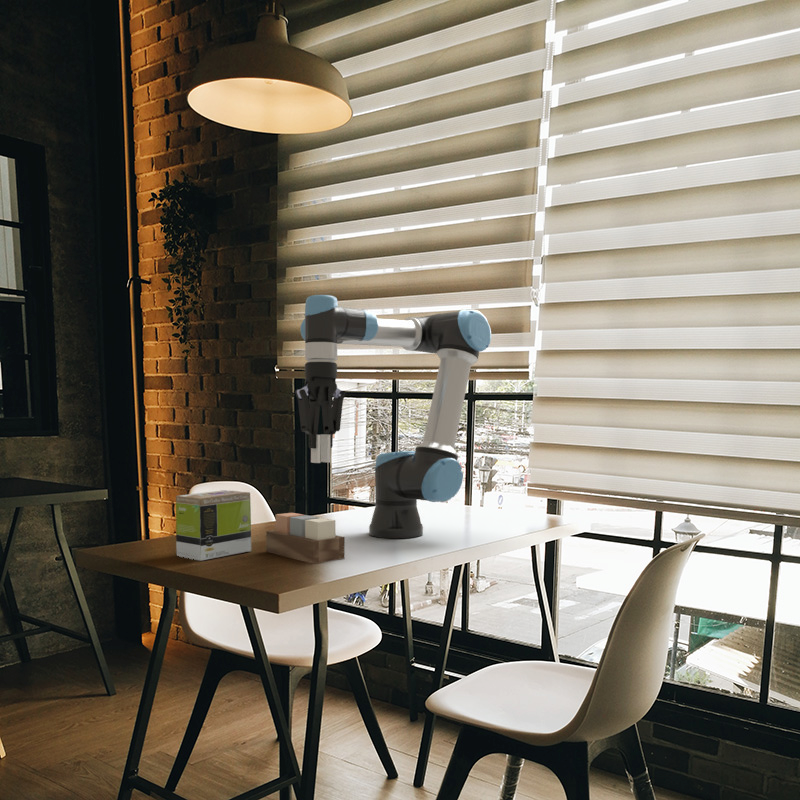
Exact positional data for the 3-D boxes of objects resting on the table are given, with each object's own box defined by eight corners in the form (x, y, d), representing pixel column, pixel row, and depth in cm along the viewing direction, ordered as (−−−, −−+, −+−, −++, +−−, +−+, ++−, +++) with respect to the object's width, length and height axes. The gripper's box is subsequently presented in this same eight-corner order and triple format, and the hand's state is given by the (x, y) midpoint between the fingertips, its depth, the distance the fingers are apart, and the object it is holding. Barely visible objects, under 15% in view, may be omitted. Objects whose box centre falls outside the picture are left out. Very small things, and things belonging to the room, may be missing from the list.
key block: (296, 547, 183) (297, 527, 184) (344, 558, 169) (344, 537, 169) (266, 551, 177) (266, 531, 177) (313, 563, 163) (313, 541, 163)
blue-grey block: (307, 538, 177) (307, 515, 177) (319, 540, 173) (319, 517, 173) (289, 540, 174) (290, 517, 174) (301, 543, 170) (302, 519, 170)
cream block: (322, 541, 172) (322, 517, 172) (335, 544, 169) (335, 520, 169) (305, 544, 169) (305, 520, 169) (317, 546, 165) (318, 522, 165)
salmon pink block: (292, 535, 182) (292, 512, 182) (303, 537, 178) (304, 514, 178) (275, 537, 178) (275, 514, 178) (286, 539, 174) (286, 516, 175)
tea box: (226, 547, 183) (226, 489, 184) (252, 552, 177) (252, 491, 177) (174, 556, 172) (175, 493, 172) (200, 562, 165) (200, 497, 165)
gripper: (337, 364, 178) (336, 460, 177) (284, 361, 167) (284, 463, 167) (356, 362, 172) (356, 461, 172) (303, 359, 162) (303, 464, 161)
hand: (320, 462), depth 169 cm, fingers open, 2 cm apart
